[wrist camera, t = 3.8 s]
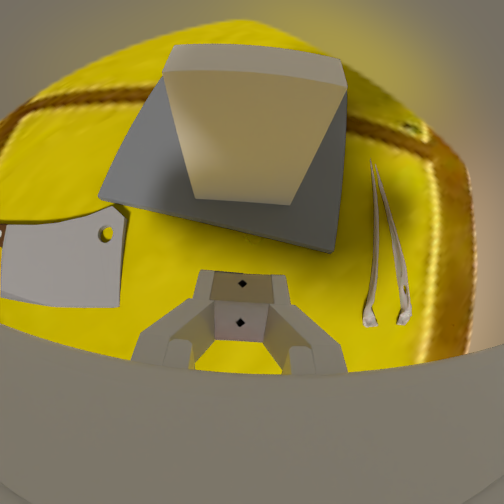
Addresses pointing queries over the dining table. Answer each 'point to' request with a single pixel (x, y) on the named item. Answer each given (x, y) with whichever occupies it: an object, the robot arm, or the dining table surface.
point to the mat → (220, 211)
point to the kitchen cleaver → (64, 261)
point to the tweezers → (399, 263)
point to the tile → (250, 117)
